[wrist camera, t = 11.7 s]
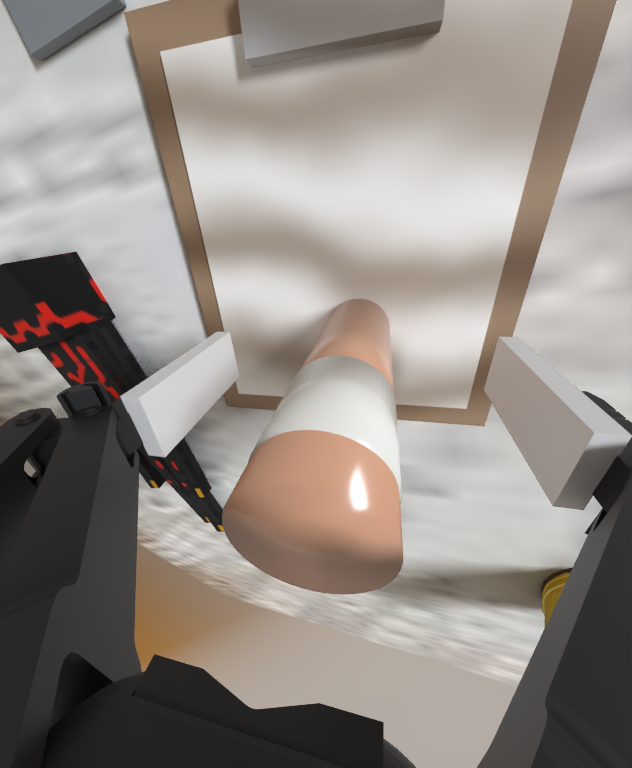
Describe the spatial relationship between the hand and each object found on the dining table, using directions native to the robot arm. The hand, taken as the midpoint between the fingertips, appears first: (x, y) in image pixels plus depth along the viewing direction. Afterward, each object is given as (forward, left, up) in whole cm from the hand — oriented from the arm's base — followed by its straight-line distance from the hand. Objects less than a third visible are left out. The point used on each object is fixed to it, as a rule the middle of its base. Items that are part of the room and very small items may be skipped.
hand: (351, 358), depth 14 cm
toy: (+10, -20, -6) cm, 23 cm away
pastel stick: (0, 0, -4) cm, 4 cm away
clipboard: (-4, -1, -5) cm, 7 cm away
